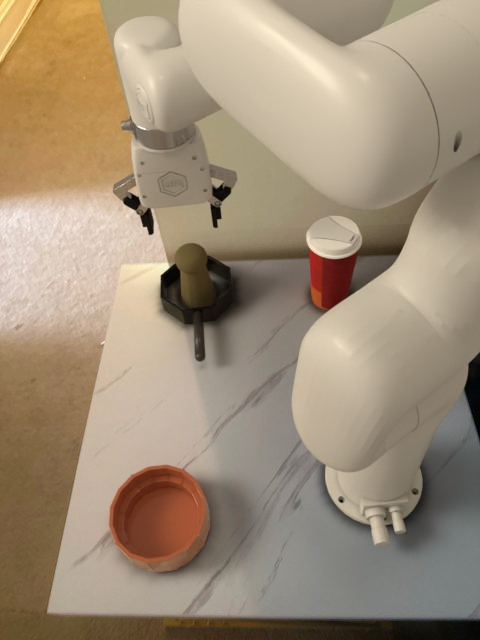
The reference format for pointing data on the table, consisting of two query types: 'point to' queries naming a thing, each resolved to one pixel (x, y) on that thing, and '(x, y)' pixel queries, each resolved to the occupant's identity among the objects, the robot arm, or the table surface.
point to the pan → (201, 313)
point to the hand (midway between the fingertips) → (183, 225)
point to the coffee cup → (332, 259)
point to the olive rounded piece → (194, 276)
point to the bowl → (160, 518)
